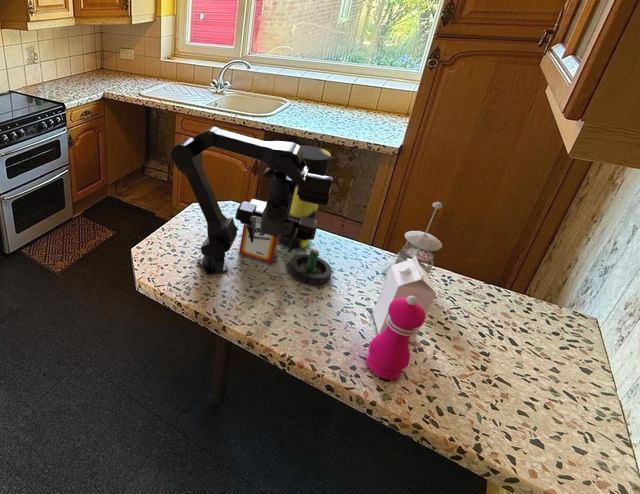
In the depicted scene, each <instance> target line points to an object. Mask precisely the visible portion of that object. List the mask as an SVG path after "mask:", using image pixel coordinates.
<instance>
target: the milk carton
mask: <svg viewBox="0 0 640 494" xmlns="http://www.w3.org/2000/svg"><path fill="white" fill-rule="evenodd" d="M394 264H395V263H394ZM394 264H392V265H391V266H390V267H389V270H388V271H389V273H388V275H387V278H386V277H385V280H384V283H383V285H382V288H381V291H380V293H379V296H378V299H377V300H376V304H375V306H374V309H373V311H372V315H373V319H374V323H375V326H376V330H377V335H378V334H380V333H381V332H383V331H384V330H385V329H386V327H387V318H388V315H389V312H388V308H389V305H390V303H391V302H392V301H393V300H394V299H397V298H407V297H408V296H414V297H416V298H417V300H418V303H419V304H420V305H421V306H422V308H423V309H424V311H425V316H426V317H427V314H428V313H429V310H430V308H431V306H432V304H433V302H434V299H435V297H436V295H437V292H436V290H435V288H434V285H433V283H432V281H431V279H430V276H429V274H428V273H426V272H425V271H424V270H423V268H422V267H421V266H420V265H419V263H418V261H417V259H416V256H415V255H414V256H413V258H412V259H411V258H410V259H407V260H406V261H404V262H401V263H398V264H395V265H394ZM427 274H428V275H427ZM421 327H422V326H420V327H418V328H417V330H416V333H415V334H414V335H412V336H410V339H409V342H410V343H414V342H415V341H416V338H417V335H418V334H419V331H420V329H421ZM409 342H408V343H409Z"/></svg>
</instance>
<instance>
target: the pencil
mask: <svg viewBox="0 0 640 494" xmlns="http://www.w3.org/2000/svg"><path fill="white" fill-rule="evenodd" d="M308 254H309V258H308V262H307V264H306V266H305V269H304V272H306V273H308V274H312V275H314V272H315V270H316V267H315V266H316V262H317V259H318V257H319V255H320V251H319V250H318V249H317V248H311V249H310V250H309V253H308Z"/></svg>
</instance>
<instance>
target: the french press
mask: <svg viewBox="0 0 640 494" xmlns="http://www.w3.org/2000/svg"><path fill="white" fill-rule="evenodd" d="M432 207H433V208H435V209H434V211H433V213H432V216H431V218H430V221H429V223H428V224H427V225H428V226H427V227H426V230H425V232H424V231H420V230H409V231H406V232H405V233H404V238H405V240H406V243H405V244H404V245H403V246H402V247H401V249H399V251H398V253H397V256H396V257H395V258H396V259H395V261H394V263H393V265H395V264H398V263H401V262H404V261H407V260H408V259H409V258H410V259H412V258H413V256H414V255H415V256H416V259H417V261H418V263H419V265H420V266H421V267H422V268H423V270H424V271H425V272H426V273H427V275H428V276H429V274H430V272H431V270H432V268H433V266H434V260H435V255H434V254H433V253H432V252H434V251H439V250H440V249H442V247H443V243H442V242H441V241H440V240H439V239H438V238H437V237H435V236H434V235H432V234H430V233H428V231H429V229H430V226H431V224H432V221H433V219H434V216H435V214H436V211H437V209H438V210H439V209H442V208H443V204H442V203H441V202H439V201H435V202H433V203H432ZM408 243H409V244H408ZM425 264H426V265H425ZM388 273H389V270H387V271H386V272H385V279H386V278H387V275H388Z"/></svg>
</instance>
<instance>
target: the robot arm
mask: <svg viewBox="0 0 640 494" xmlns="http://www.w3.org/2000/svg"><path fill="white" fill-rule="evenodd" d="M300 146H301V145H299V144H298V143H295V142H292V141H284V140H283V141H280V140H274V141H273V140H272V141H268V140H267V141H266V140H261V139H258V138H254V137H250V136H247V135H243V134H239V133H236V132H231V131H228V130H224V129H221V128H219V127H217V126H211V127H209V128H207V129H206V130H204V131H202V132H200V133H198V134H196V135H195V136H193V137H190V136H189V137H184V138H182V139H181V140H180V141H179V142H178V143H177V144H175V146H173V147H172V149H171V151H170V159H171V160H172V163H173V165H174V166H175V167H176V169H177V170H178V171H179V172H180V173H182V174H183V175H184V176H185V177H186V179H187V181H188V183H189V185H190V187H191V190H192V192H193V195H194V197H195V199H196V201H197V204H198V206H199V208H200V210H201V212H202V215H203V217H204V219H205V221H206V229H207V230H206V231H207V233H206V234H207V237H206V238H205V240H204V242H203V243H202V245H200V252H201V255H202V257H201V258H199V259H197V262H198V264H199V265H200V266H201V268H202V269H203V271H204V272H205V274H206V275H214V274H220V273H225V272H227V271H228V270H229V268H228V267H227V265H226V264H225V258H226V253H228V252H229V251H230V249H231V248H232V246H233V244H234V242H235V240H236V238H237V236H238V231H239V228H238V227H237V226H236V223H235V220H237V221H239V222H240V223H241V224H243V225H244V224H245V225H246V227H247V229H248V232H249V236H250V240H251V242H252V243H253V240H254V236H255V226H256V218H258V219H262V220H261V225H260V232H261V233H263V234H268V235H271V236H274V237H280V236H281V234H284V235H285V234H286V233H288V234H290V233H291V229H292V227H293V228H297V229H296V231H295V233H294V236H293V238H292V241H291V243H290V246H289V247H288V250H287V254H290V253H291V252H292V251H293V249H295V248H294V247H295V245H296V244H297V243H298V242H299V241H301V240H305V241H306V240H307V239H309V241H312V240H314V239H315V237H316V232H317V228H318V225H319V222H318V220H317V219H316V218H315V219H313V218H309V217H305V216H301V219H300V221H298V220H295V219H291V218H289V214H290V210H291V205H292V201H293V196H294V192H295V187H296V183H298V184H299V187H298V191H297V195H298V196H299V199H301V201H305V202H309V203H314V204H318V206H323V207H328V203H329V199H330V195H331V190H332V183H333V180H334V179H333V177H332V176H328V175H326V176H320V175H315V174H310V173H308V171H309V168H308V166H307V165H306V163H305V161H304V159H303V151H302V149H301V147H300ZM209 148H216V149H219V150H223V151H227V152H230V153H233V154H237V155H240V156H244V157H247V158H250V159H253V160H257V161H258V162H261V163H262V164H264V165H265V166H266V167H267V168H265V170H264V171H263V173H262V176H263V177H266V178H270V183H269V188H268V192H267V198H266V202H267V203H266V207H265V208H264V210H263V211H259V210H256V208H257V205H256V204H252V203H250V202H248V201H242V202H240V204H239V206H238V207H237V209H236V212H235V216H234V217H235V220H234V217H229V218H228V217H227V216H226V215H224V213H223V211H222V210H221V207H220V205H219V203H218V200H217V198H216V195H215V193H214V191H213V189H212V187H211V184H210V182H209V179H208V177H207V175H206V172H205V170H204V167H203V166H204V165H203V153H202V152H205V151H206V150H208V149H209Z"/></svg>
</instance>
